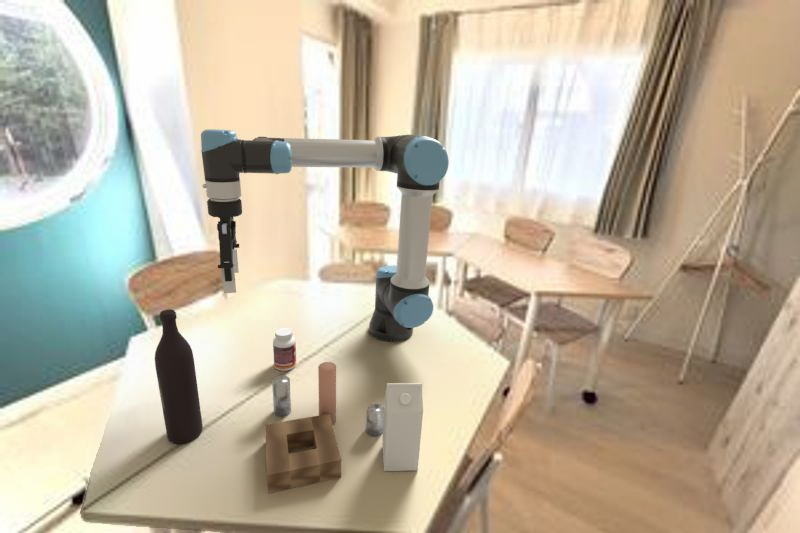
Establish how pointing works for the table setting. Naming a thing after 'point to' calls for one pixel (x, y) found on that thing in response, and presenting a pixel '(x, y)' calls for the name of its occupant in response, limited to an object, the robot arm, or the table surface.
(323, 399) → the long pin
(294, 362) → the pill bottle
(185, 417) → the wine bottle
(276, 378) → the medium pin
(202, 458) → the table surface
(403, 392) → the milk carton
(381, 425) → the short pin
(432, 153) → the robot arm
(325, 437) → the hole block
